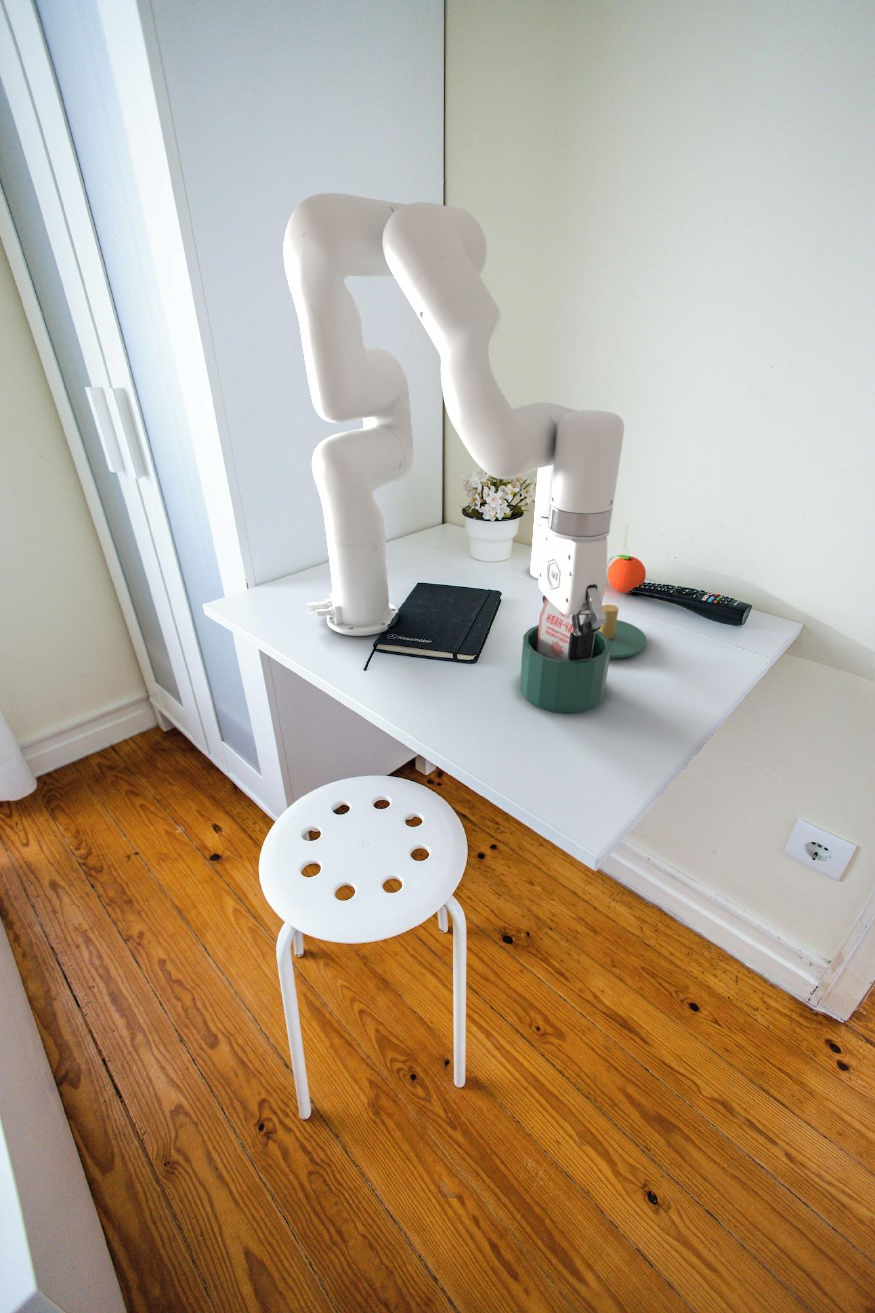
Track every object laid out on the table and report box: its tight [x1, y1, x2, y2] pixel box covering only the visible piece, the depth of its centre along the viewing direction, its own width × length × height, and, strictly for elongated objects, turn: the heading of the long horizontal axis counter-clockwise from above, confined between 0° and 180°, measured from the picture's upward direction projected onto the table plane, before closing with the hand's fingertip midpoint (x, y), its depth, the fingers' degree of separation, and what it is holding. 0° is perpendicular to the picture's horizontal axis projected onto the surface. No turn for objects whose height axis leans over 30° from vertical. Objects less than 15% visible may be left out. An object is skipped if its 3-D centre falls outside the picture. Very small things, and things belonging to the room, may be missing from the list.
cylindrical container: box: [530, 465, 554, 579], centre depth 117 cm, size 7×7×25 cm
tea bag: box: [536, 599, 595, 662], centre depth 81 cm, size 4×7×10 cm, turn 38°
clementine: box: [607, 554, 647, 594], centre depth 114 cm, size 8×7×7 cm
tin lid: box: [598, 604, 648, 659], centre depth 97 cm, size 13×13×6 cm
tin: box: [519, 624, 611, 715], centre depth 85 cm, size 12×12×8 cm
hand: (565, 642), depth 83 cm, fingers closed on tea bag, 7 cm apart
